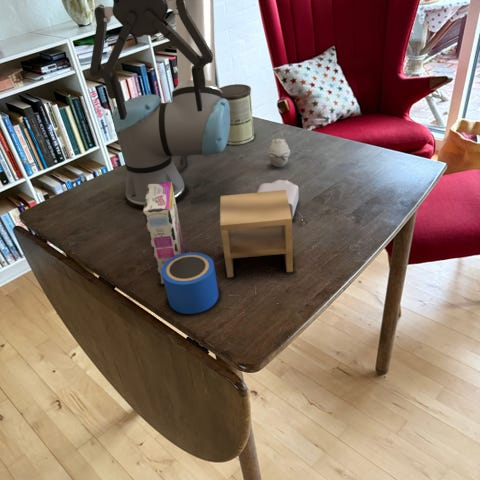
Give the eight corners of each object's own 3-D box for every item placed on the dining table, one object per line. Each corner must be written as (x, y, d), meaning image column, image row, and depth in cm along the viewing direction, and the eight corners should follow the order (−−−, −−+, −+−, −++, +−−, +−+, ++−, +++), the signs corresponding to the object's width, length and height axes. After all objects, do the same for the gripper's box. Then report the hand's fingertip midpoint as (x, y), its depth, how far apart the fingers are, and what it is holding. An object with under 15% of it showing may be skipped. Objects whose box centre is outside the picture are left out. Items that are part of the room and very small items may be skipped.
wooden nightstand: (227, 246, 99) (220, 195, 91) (287, 240, 98) (285, 189, 90) (227, 277, 91) (220, 225, 83) (292, 271, 90) (291, 218, 82)
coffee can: (214, 139, 143) (208, 91, 133) (239, 129, 147) (235, 81, 138) (235, 148, 137) (230, 98, 127) (261, 136, 141) (258, 87, 132)
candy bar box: (186, 282, 91) (169, 208, 80) (161, 285, 91) (141, 212, 80) (186, 250, 99) (172, 180, 88) (163, 253, 99) (146, 183, 88)
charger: (302, 189, 114) (292, 221, 104) (266, 188, 116) (253, 219, 106) (302, 171, 111) (292, 202, 101) (265, 171, 113) (251, 201, 103)
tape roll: (171, 283, 91) (163, 254, 86) (218, 279, 91) (214, 249, 86) (166, 316, 84) (158, 286, 79) (218, 311, 84) (213, 281, 79)
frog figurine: (290, 159, 128) (289, 134, 123) (290, 170, 123) (290, 144, 118) (268, 160, 128) (267, 135, 124) (267, 172, 123) (266, 146, 118)
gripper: (39, -25, 64) (87, 128, 78) (216, -47, 63) (232, 112, 77) (53, -32, 69) (96, 112, 84) (216, -52, 68) (231, 98, 83)
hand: (161, 113), depth 81 cm, fingers open, 13 cm apart
